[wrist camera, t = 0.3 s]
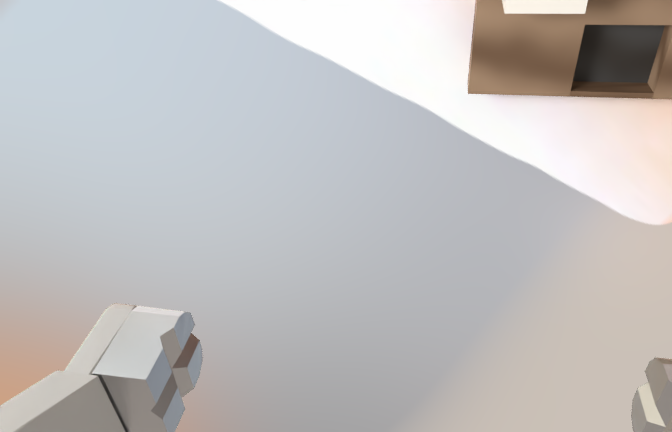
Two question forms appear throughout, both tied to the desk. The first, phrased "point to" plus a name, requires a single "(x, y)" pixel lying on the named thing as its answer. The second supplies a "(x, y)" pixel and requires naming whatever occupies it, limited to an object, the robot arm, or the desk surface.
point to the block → (544, 6)
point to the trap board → (574, 51)
